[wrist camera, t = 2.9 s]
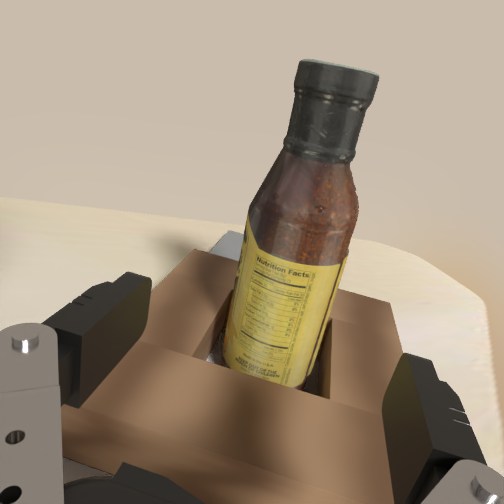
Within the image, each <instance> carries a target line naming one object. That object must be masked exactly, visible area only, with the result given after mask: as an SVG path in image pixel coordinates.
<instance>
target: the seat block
mask: <svg viewBox="0 0 504 504" xmlns="http://www.w3.org/2000/svg"><path fill="white" fill-rule="evenodd" d="M238 262H239V261H236V260H233V259H229V258H226V257H222V256H218V255H215V254H211V253H208V252H204V251H200V250H197V249H194V250H193V251H192V252H191V253H190V254H189V255H188V256H187V257H186V258H185V259H184V260H183V261H182V262H181V263H180V264H179V265H178V266H177V267H176V268H175V269H174V270H173V271H172V272H171V273H170V274H169V275H168V276H167V277H166V278H165V279H164V280H163V281H162V282H161V283H160V284H159V285H158V286H157V287H156V288H155V289H154V290H153V291H152V292H151V296H150V304H149V313H148V320H147V324H146V327H145V330H144V332H143V334H142V336H141V337H140V339H139V340H138V341H137V342H136V343H135V345H134V346H133V347H132V348H131V349H130V350H129V351H128V353H127V354H126V355H125V356H124V357H123V358H122V360H121V361H120V362H119V363H118V364H117V365H116V367H115V368H114V369H113V370H112V371H111V372H110V373H109V375H108V376H107V377H106V378H105V379H104V380H103V382H102V383H101V384H100V385H99V386H98V387H97V389H96V390H95V391H94V392H93V393H92V394H91V395H90V397H89V398H88V399H87V400H86V401H85V402H84V404H83V405H82V406H81V407H80V408H79V409H77V408H74V407H71V406H68V405H65V404H63V405H62V406H61V430H62V456H63V457H65V458H68V459H71V460H74V461H77V462H79V463H82V464H85V465H88V466H91V467H94V468H96V469H99V470H102V471H105V472H108V473H110V474H113V475H115V474H116V472H117V471H118V469H119V467H120V466H121V464H122V462H125V463H128V464H131V465H133V466H136V467H139V468H142V469H145V470H148V471H150V472H153V473H156V474H159V475H162V476H165V477H167V478H168V479H170V480H171V481H173V482H174V483H176V484H177V485H179V486H180V487H182V488H183V489H185V490H186V491H188V492H189V493H190V494H192V495H193V496H195V497H196V498H198V499H199V500H201V501H202V502H204V503H205V504H394V498H393V491H392V484H391V476H390V469H389V462H388V455H387V448H386V441H385V433H384V426H383V419H382V403H383V398H384V394H385V392H386V389H387V387H388V385H389V382H390V380H391V378H392V375H393V373H394V371H395V368H396V366H397V364H398V361H399V359H400V357H401V355H402V354H403V351H402V347H401V343H400V340H399V336H398V332H397V328H396V324H395V321H394V317H393V313H392V309H391V305H390V303H388V302H385V301H381V300H377V299H374V298H370V297H367V296H363V295H359V294H356V293H352V292H348V291H345V290H341V289H337V292H336V296H335V299H334V302H333V305H332V308H331V312H330V315H329V318H328V321H327V325H326V328H325V331H324V334H323V337H322V341H321V344H320V347H319V350H318V353H317V355H320V363H319V376H318V390H317V396H316V395H313V394H310V393H307V392H303V391H300V390H297V389H294V388H291V387H287V386H284V385H281V384H278V383H274V382H271V381H268V380H265V379H262V378H258V377H255V376H252V375H249V374H246V373H242V372H239V371H236V370H233V369H229V368H226V367H223V366H220V365H217V364H213V363H210V362H207V361H206V359H207V357H208V355H209V354H210V352H211V350H212V348H213V346H214V344H215V342H216V340H217V338H218V336H219V335H220V333H221V331H222V329H223V327H227V321H228V316H229V311H230V306H231V301H232V296H233V290H234V283H235V278H236V273H237V268H238Z"/></svg>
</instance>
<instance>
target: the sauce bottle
mask: <svg viewBox="0 0 504 504" xmlns="http://www.w3.org/2000/svg"><path fill="white" fill-rule="evenodd" d="M378 81H379V75H378V74H376V73H374V72H371V71H367V70H362V69H358V68H354V67H349V66H345V65H340V64H335V63H329V62H324V61H319V60H314V59H304V60H301V61H300V62H299V65H298V69H297V73H296V77H295V81H294V92H295V98H294V104H293V109H292V113H291V118H290V122H289V127H288V132H287V135H286V137H285V138H284V142H283V144H284V147H283V149H282V150H281V152H280V154H279V155H278V157H277V159H276V161H275V162H274V164H273V166H272V168H271V169H270V171H269V173H268V174H267V176H266V178H265V180H264V182H263V183H262V185H261V187H260V188H259V190H258V192H257V194H256V195H255V197H254V199H253V201H252V202H251V204H250V206H249V210H248V215H247V221H246V226H245V231H244V237H243V243H242V247H241V252H240V257H239V262H238V268H237V273H236V278H235V283H234V290H233V296H232V301H231V306H230V311H229V316H228V321H227V327H226V332H225V338H224V343H223V358H222V365H223V367H226V368H229V369H233V370H236V371H239V372H242V373H246V374H249V375H252V376H255V377H258V378H262V379H265V380H268V381H271V382H274V383H278V384H281V385H284V386H287V387H291V388H294V389H297V390H300V391H302V390H303V388H304V387H305V383H306V379H307V377H308V376H309V375H310V373H311V371H312V369H313V366H314V363H315V359H316V356H317V353H318V350H319V347H320V344H321V341H322V337H323V334H324V331H325V328H326V325H327V321H328V318H329V315H330V312H331V308H332V305H333V302H334V299H335V296H336V292H337V289H338V286H339V283H340V280H341V276H342V273H343V270H344V267H345V263H346V260H347V257H348V253H349V249H348V247H349V244H350V239H351V237H352V234H353V231H354V228H355V225H356V221H357V217H358V212H359V210H358V208H359V205H358V197H357V195H356V192H355V191H356V188H355V185H354V183H353V177H352V173H351V170H350V162H351V161H352V160H353V158H354V157H355V154H356V151H355V147H356V144H357V141H358V136H359V133H360V130H361V126H362V123H363V119H364V117H365V112H366V110H367V108H368V107H369V106H370V104H371V102H372V100H373V98H374V94H375V91H376V88H377V84H378Z"/></svg>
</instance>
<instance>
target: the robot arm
mask: <svg viewBox="0 0 504 504" xmlns="http://www.w3.org/2000/svg"><path fill="white" fill-rule="evenodd" d="M151 288H152V280H151V278H149V277H145V276H142V275H138V274H135V273H132V272H126V273H125V274H123V275H122V276H121V277H119V278H118V279H117V280H116V281H114V282H113V283H111V282H108V281H107V282H104V283H101V284H98V285H95V286H92V287H91V288H89V289H88V290H87V291H85V292H84V293H83V294H81V296H78V297H77V298H76V299H74V300H73V301H72V303H69V304H67V305H66V306H65V307H63V308H62V309H60V310H59V311H58V312H56V313H55V314H54V315H52V316H51V317H49V318H48V319H47V320H45V321H44V322H43V323H41V324H38V323H23V324H17V325H13V326H10V327H8V328H5V329H3V330H2V331H0V504H205V503H204V502H202V501H201V500H199V499H198V498H196V497H195V496H193V495H192V494H190V493H189V492H188V491H186V490H185V489H183V488H182V487H180V486H179V485H177V484H176V483H174V482H173V481H171V480H170V479H168V478H167V477H165V476H162V475H159V474H156V473H153V472H150V471H148V470H145V469H142V468H139V467H136V466H133V465H131V464H128V463H125V462H122V464H121V466H120V467H119V469H118V471H117V472H116V474H115V475H114V477H111V476H101V477H90V478H84V479H80V480H76V481H72V482H69V483H66V484H63V459H62V430H61V406H62V405H63V404H65V405H68V406H71V407H74V408H77V409H79V408H80V407H81V406H82V405H83V404H84V402H85V401H86V400H87V399H88V398H89V397H90V395H91V394H92V393H93V392H94V391H95V390H96V389H97V387H98V386H99V385H100V384H101V383H102V382H103V380H104V379H105V378H106V377H107V376H108V375H109V373H110V372H111V371H112V370H113V369H114V368H115V367H116V365H117V364H118V363H119V362H120V361H121V360H122V358H123V357H124V356H125V355H126V354H127V353H128V351H129V350H130V349H131V348H132V347H133V346H134V345H135V343H136V342H137V341H138V340H139V339H140V337H141V336H142V334H143V332H144V330H145V327H146V324H147V320H148V313H149V304H150V296H151ZM382 419H383V426H384V433H385V441H386V448H387V455H388V462H389V469H390V476H391V484H392V491H393V498H394V504H504V477H503V476H501V475H500V474H499V473H498V472H496V471H495V470H493V469H492V468H490V467H488V466H487V463H486V461H485V459H484V456H483V454H482V451H481V449H480V446H479V444H478V442H477V439H476V437H475V434H474V432H473V430H472V427H471V426H469V425H470V422H469V420H468V418H467V415H466V414H465V410H464V408H463V405H462V403H461V401H460V398H459V396H458V395H457V394H456V393H455V392H454V391H453V389H452V388H451V387H450V386H449V385H448V384H447V382H443V381H440V380H439V379H438V376H437V374H436V371H435V368H434V365H433V363H432V361H431V360H429V359H425V358H422V357H418V356H415V355H412V354H408V353H403V354H402V355H401V357H400V359H399V361H398V364H397V366H396V368H395V371H394V373H393V375H392V378H391V380H390V382H389V385H388V387H387V389H386V392H385V394H384V398H383V403H382Z"/></svg>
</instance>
